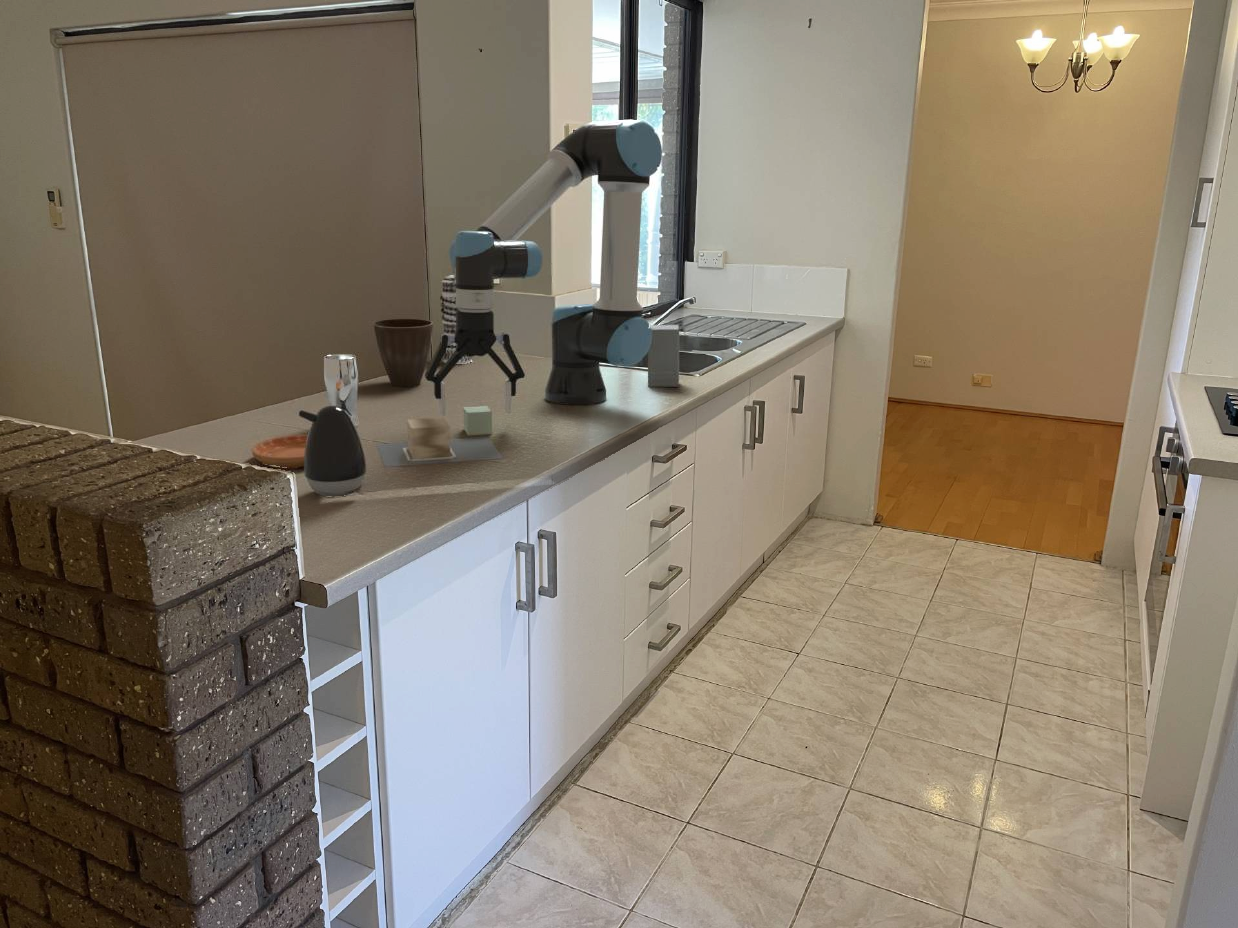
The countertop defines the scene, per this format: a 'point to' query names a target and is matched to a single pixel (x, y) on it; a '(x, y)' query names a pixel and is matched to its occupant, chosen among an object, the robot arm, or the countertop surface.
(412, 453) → the maple block
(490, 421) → the sage block
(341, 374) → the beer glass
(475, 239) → the robot arm
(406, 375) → the plant pot
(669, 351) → the skincare box
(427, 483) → the countertop surface
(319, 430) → the pump dispenser
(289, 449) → the saucer
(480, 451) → the board
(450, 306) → the decorative candle
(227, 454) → the countertop surface
